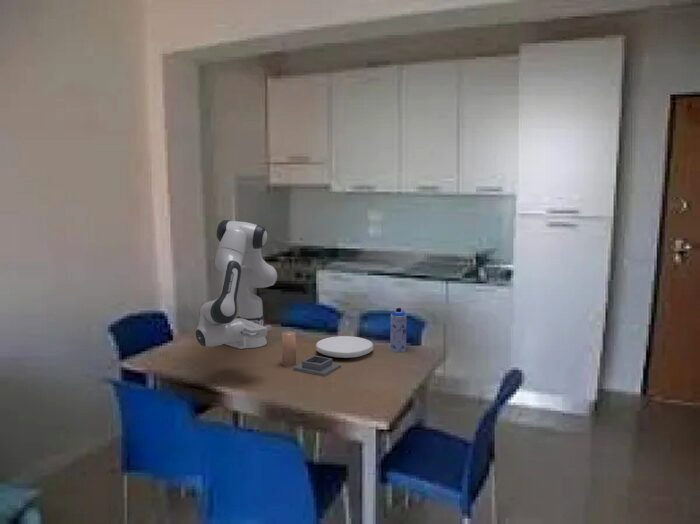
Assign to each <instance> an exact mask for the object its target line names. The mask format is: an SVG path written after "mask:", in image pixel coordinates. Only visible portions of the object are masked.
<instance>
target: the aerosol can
mask: <svg viewBox="0 0 700 524" xmlns="http://www.w3.org/2000/svg"><path fill="white" fill-rule="evenodd" d="M389 325H390V338H389V339H390V340H389V341H390V343H389V345H390V346H389V350H390V351H392V352H395V353H402V352H403V353H404V352H406V351H407V313H405V311H403V310H402V308H401V307H397V308H395V310H394V311H393V312H391V314H390V324H389Z"/></svg>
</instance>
